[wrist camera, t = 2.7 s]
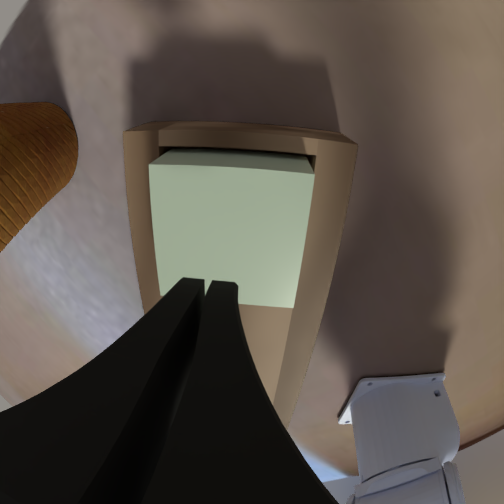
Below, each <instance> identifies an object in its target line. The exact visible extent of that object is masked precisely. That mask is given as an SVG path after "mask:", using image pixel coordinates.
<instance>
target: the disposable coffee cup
mask: <svg viewBox="0 0 504 504" xmlns="http://www.w3.org/2000/svg"><path fill="white" fill-rule="evenodd" d="M77 158H78V141H77V136H76V132H75V129H74V126H73V124H72V121H71V120H70V119H69V117H68V116H67V114H66V113H65V112H64V111H63V110H62V109H61V108H60V107H58V106H57V105H55V104H52V103H48V102H33V103H8V104H0V252H1V251H3V249H4V248H5V247H6V245H7V244H8V243H9V242H10V241H11V240H12V239H13V236H16V235H17V233H18V232H19V230H21V229H22V228H23V227H24V226H25V224H27V223H28V222H29V220H30V219H31V217H34V215H35V214H36V213H37V212H38V211H39V210H40V209H41V208H42V207H44V205H45V204H46V203H47V202H49V201H50V200H51V199H52V197H54V196H55V195H56V194H57V192H59V191H60V190H61V189H62V188H64V187H65V186H66V185H67V184H68V183H69V181H70V179H71V178H72V176H73V174H74V171H75V168H76V164H77Z"/></svg>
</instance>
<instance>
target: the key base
mask: <svg viewBox="0 0 504 504" xmlns="http://www.w3.org/2000/svg"><path fill="white" fill-rule="evenodd" d="M123 144H124V163H125V177H126V189H127V200H128V210H129V219H130V227H131V235H132V243H133V250H134V257H135V263H136V270H137V276H138V282H139V288H140V293H141V298H142V304H143V309H144V314H146V313H147V312H148V311H149V310H150V309H151V308H152V307H153V306H154V305H155V304H156V303H157V302H158V301H159V300H160V299H161V298H162V297H163V296H161V295H160V288H159V280H158V272H157V264H156V255H155V246H154V236H153V225H152V213H151V199H150V183H149V164H150V163H151V162H153V161H154V160H156V159H157V158H159V157H160V156H162V155H163V154H165V153H166V152H168V151H169V150H171V149H172V148H183V149H217V150H236V151H252V152H265V153H277V154H288V155H298V156H306V158H307V160H308V162H309V164H310V166H311V168H312V170H313V172H314V174H315V177H314V185H313V192H312V199H311V206H310V213H309V219H308V226H307V232H306V239H305V245H304V251H303V257H302V263H301V269H300V275H299V280H298V286H297V292H296V297H295V303H294V308H285V307H271V306H259V305H247V304H239V311H240V317H241V321H242V325H243V329H244V333H245V336H246V340H247V343H248V346H249V350H250V353H251V355H252V358H253V361H254V364H255V366H256V369H257V371H258V374H259V376H260V379H261V381H262V383H263V386H264V388H265V390H266V392H267V394H268V396H269V398H270V401H271V403H272V405H273V407H274V408H275V410H276V412H277V414H278V416H279V418H280V420H281V422H282V423H283V425H284V427H285V428H286V430H287V429H288V426H289V423H290V420H291V417H292V414H293V411H294V408H295V406H296V403H297V400H298V397H299V394H300V390H301V387H302V384H303V381H304V378H305V375H306V372H307V368H308V365H309V362H310V358H311V355H312V352H313V348H314V345H315V341H316V338H317V334H318V331H319V327H320V324H321V320H322V316H323V312H324V309H325V305H326V301H327V297H328V293H329V289H330V285H331V281H332V277H333V273H334V269H335V264H336V260H337V256H338V251H339V247H340V242H341V237H342V233H343V228H344V223H345V218H346V213H347V208H348V203H349V197H350V192H351V186H352V181H353V175H354V169H355V163H356V156H357V150H358V144H356V143H355V142H353V141H352V140H350V139H349V138H347V137H346V136H344V135H343V134H341V133H338V132H331V131H324V130H316V129H308V128H300V127H290V126H280V125H269V124H255V123H238V122H213V121H159V122H149V123H146V124H143V125H140V126H137V127H134V128H132V129H129V130H126V131H123Z"/></svg>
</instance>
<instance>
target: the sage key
mask: <svg viewBox="0 0 504 504" xmlns="http://www.w3.org/2000/svg"><path fill="white" fill-rule="evenodd" d="M314 177H315V174H314V172H313V170H312V168H311V166H310V164H309V162H308V160H307V158H306V156H298V155H288V154H277V153H265V152H252V151H236V150H217V149H183V148H172V149H171V150H169V151H168V152H166V153H165V154H163V155H162V156H160V157H159V158H157V159H156V160H154V161H153V162H151V163H150V164H149V183H150V199H151V213H152V225H153V236H154V246H155V255H156V264H157V272H158V280H159V288H160V295H161V296H164V295H165V294H166V293H167V292H168V291H169V290H170V289H171V288H172V287H173V286H174V285H175V284H176V283H177V282H178V281H179V280H180V279H181V278H183V277H187V278H197V279H205V295H206V292H207V290H208V288H209V286H210V284H211V282H212V280H218V281H229V282H235V283H236V284H237V285H238V286H239V288H238V304H247V305H259V306H271V307H285V308H294V303H295V297H296V292H297V286H298V280H299V275H300V269H301V263H302V257H303V251H304V245H305V239H306V232H307V226H308V219H309V213H310V206H311V199H312V192H313V185H314Z"/></svg>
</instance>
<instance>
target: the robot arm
mask: <svg viewBox="0 0 504 504" xmlns="http://www.w3.org/2000/svg"><path fill="white" fill-rule="evenodd" d="M238 288H239V286H238V285H237V284H236V283H235V282H229V281H218V280H212V282H211V284H210V286H209V288H208V290H207V292H206V295H205V279H197V278H187V277H183V278H181V279H180V280H179V281H178V282H177V283H176V284H175V285H174V286H173V287H172V288H171V289H170V290H169V291H168V292H167V293H166V294H165V295H164V296H163V297H162V298H161V299H160V300H159V301H158V302H157V303H156V304H155V305H154V306H153V307H152V308H151V309H150V310H149V311H148V312H147V313H146V314H145V315H144V316H143V317H142V318H141V319H140V320H139V321H138V322H137V323H135V324H134V325H133V326H132V327H131V328H130V329H129V330H128V331H126V332H125V333H124V334H123V335H122V336H121V337H120V338H118V339H117V340H116V341H115V342H114V343H113V344H111V345H110V346H109V347H108V348H107V349H105V350H104V351H103V352H102V353H100V354H99V355H98V356H96V357H95V358H94V359H92V360H91V361H90V362H88V363H87V364H86V365H84V366H83V367H81V368H80V369H79V370H77V371H76V372H74V373H72V374H71V375H69V376H68V377H66V378H64V379H63V380H61V381H60V382H58V383H56V384H55V385H53V386H51V387H50V388H48V389H46V390H45V391H43V392H41V393H39V394H38V395H36V396H34V397H32V398H30V399H28V400H26V401H24V402H22V403H20V404H18V405H16V406H13V407H11V408H9V409H7V410H4V411H2V412H0V504H339V503H338V502H337V501H336V500H335V498H334V497H333V496H332V495H331V494H330V492H329V491H328V490H327V489H326V487H325V486H324V485H323V484H322V482H321V481H320V480H319V478H318V477H317V476H316V474H315V473H314V471H313V470H312V469H311V467H310V466H309V465H308V463H307V462H306V460H305V459H304V457H303V456H302V454H301V453H300V451H299V449H298V448H297V446H296V445H295V443H294V441H293V440H292V438H291V437H290V435H289V433H288V432H287V430H286V428H285V427H284V425H283V423H282V422H281V420H280V418H279V416H278V414H277V412H276V410H275V408H274V407H273V405H272V403H271V401H270V398H269V396H268V394H267V392H266V390H265V388H264V386H263V383H262V381H261V379H260V376H259V374H258V371H257V369H256V366H255V364H254V361H253V358H252V355H251V353H250V350H249V346H248V343H247V340H246V336H245V333H244V329H243V325H242V321H241V317H240V311H239V304H238ZM445 377H446V375H445V373H435V374H424V375H413V376H398V377H379V378H363V379H361V380H360V381H359V382H358V384H357V386H356V388H355V390H354V392H353V394H352V396H351V398H350V399H349V401H348V403H347V405H346V407H345V408H344V410H343V412H342V414H341V415H340V417H339V419H338V423H339V424H352V425H353V431H354V438H355V446H356V453H357V461H358V469H359V477H360V484H359V485H355V486H354V489H355V494H352V495H351V496H349V498H348V499H347V502H346V503H345V504H466V503H465V498H464V495H463V489H462V485H461V481H460V477H459V473H458V469H457V466H456V464H455V463H451V460H452V459H453V458H454V457H455V455H456V453H457V451H458V448H459V443H460V431H459V426H458V422H457V420H456V417H455V414H454V411H453V408H452V406H451V403H450V400H449V397H448V395H447V392H446V390H445V387H444V385H443V380H444V379H445ZM443 466H444V468H443ZM444 469H445V472H444Z"/></svg>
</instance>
